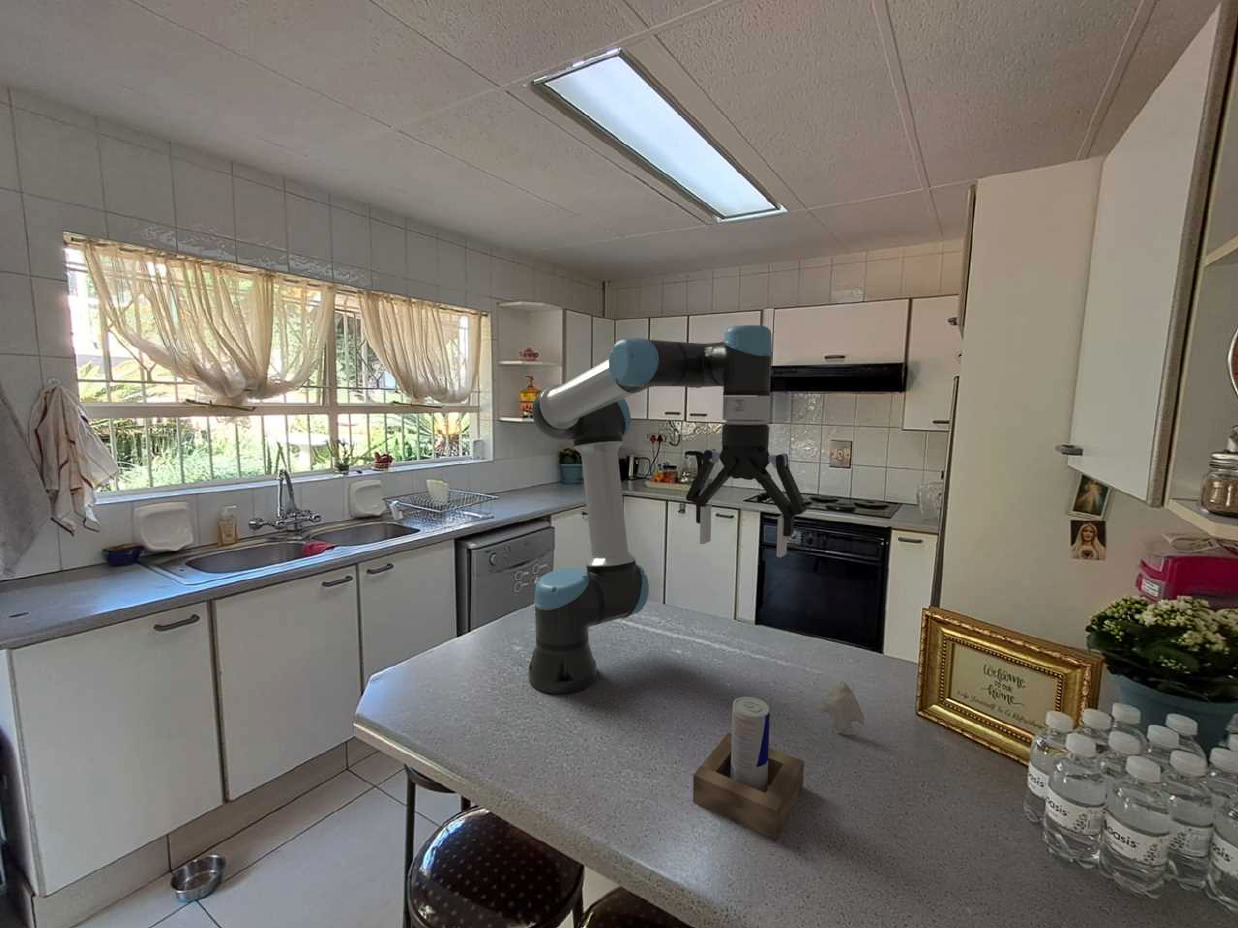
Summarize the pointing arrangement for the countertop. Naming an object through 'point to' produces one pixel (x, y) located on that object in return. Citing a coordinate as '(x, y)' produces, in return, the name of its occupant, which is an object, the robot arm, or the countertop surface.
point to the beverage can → (750, 742)
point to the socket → (749, 790)
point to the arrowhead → (842, 708)
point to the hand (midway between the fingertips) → (741, 548)
